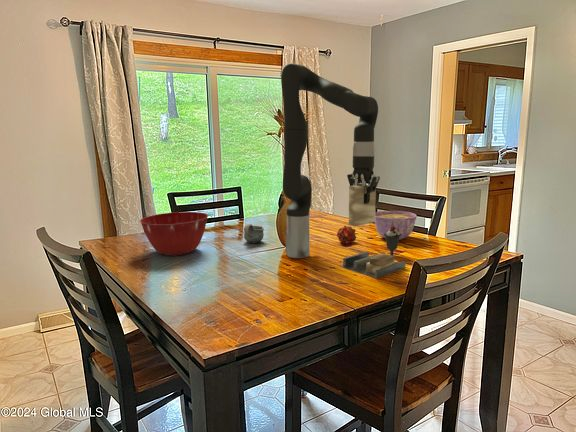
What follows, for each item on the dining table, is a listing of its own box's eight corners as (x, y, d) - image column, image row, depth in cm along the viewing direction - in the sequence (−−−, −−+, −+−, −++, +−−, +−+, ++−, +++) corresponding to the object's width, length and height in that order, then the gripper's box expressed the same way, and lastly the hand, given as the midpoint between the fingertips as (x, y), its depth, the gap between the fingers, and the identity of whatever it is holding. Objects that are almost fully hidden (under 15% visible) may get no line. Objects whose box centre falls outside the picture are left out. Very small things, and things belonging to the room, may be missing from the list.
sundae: (388, 262, 162) (389, 224, 159) (380, 257, 169) (381, 221, 166) (403, 260, 164) (404, 223, 161) (394, 256, 170) (396, 220, 167)
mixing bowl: (128, 256, 177) (124, 220, 174) (175, 240, 202) (172, 209, 199) (179, 264, 164) (176, 226, 161) (222, 247, 189) (221, 213, 186)
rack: (339, 270, 154) (339, 258, 153) (368, 261, 163) (368, 250, 163) (376, 282, 141) (376, 269, 140) (405, 272, 150) (405, 260, 150)
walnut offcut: (369, 263, 146) (369, 258, 146) (381, 258, 152) (381, 253, 151) (382, 266, 143) (382, 261, 142) (393, 261, 148) (394, 255, 148)
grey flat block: (366, 271, 148) (366, 263, 147) (384, 265, 154) (384, 257, 153) (379, 275, 143) (380, 267, 142) (397, 269, 149) (398, 261, 149)
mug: (266, 240, 200) (266, 219, 198) (259, 246, 188) (259, 225, 186) (247, 239, 202) (246, 219, 200) (239, 246, 190) (238, 224, 188)
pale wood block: (348, 224, 150) (349, 186, 148) (368, 220, 157) (369, 183, 154) (354, 226, 148) (355, 186, 145) (375, 221, 155) (376, 184, 152)
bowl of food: (421, 243, 189) (422, 218, 187) (376, 244, 189) (377, 219, 187) (409, 233, 208) (410, 210, 206) (369, 233, 209) (369, 211, 207)
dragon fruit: (349, 243, 198) (346, 253, 187) (335, 232, 198) (331, 242, 187) (360, 229, 195) (357, 239, 184) (345, 219, 195) (341, 228, 184)
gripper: (341, 154, 151) (341, 201, 154) (372, 155, 140) (370, 206, 143) (355, 153, 155) (354, 199, 159) (386, 154, 145) (384, 204, 148)
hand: (362, 202), depth 151 cm, fingers closed on pale wood block, 3 cm apart
